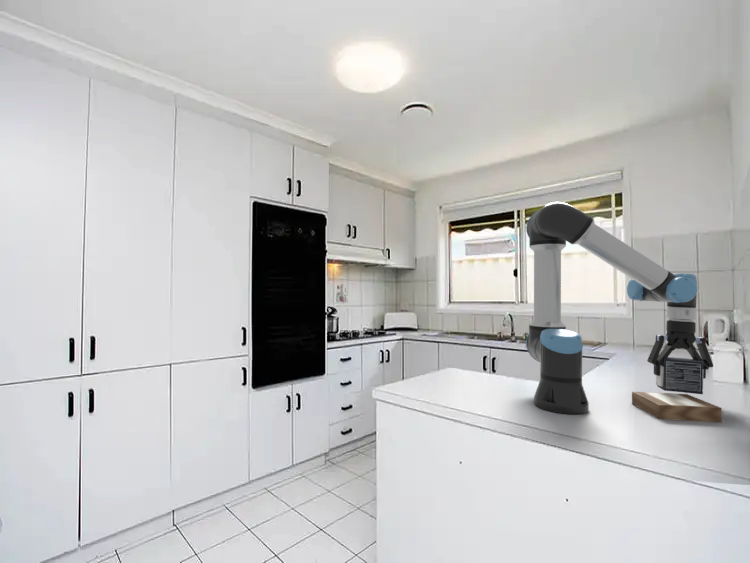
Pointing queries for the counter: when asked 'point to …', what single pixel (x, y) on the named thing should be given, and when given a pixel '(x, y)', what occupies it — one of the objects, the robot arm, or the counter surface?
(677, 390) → the small box
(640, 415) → the counter surface
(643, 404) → the wooden block
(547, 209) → the robot arm
